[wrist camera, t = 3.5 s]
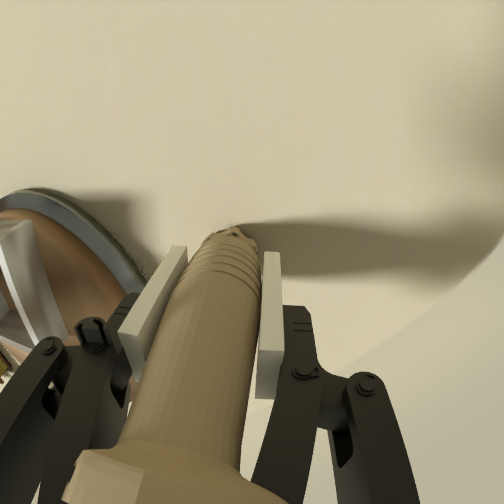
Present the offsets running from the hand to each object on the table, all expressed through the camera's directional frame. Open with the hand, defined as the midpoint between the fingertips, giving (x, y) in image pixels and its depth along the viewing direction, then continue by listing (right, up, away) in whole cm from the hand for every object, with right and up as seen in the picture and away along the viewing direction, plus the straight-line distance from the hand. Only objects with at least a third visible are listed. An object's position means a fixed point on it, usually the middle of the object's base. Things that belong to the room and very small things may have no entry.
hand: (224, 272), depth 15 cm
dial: (-16, -5, +5) cm, 18 cm away
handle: (0, +1, +3) cm, 3 cm away
